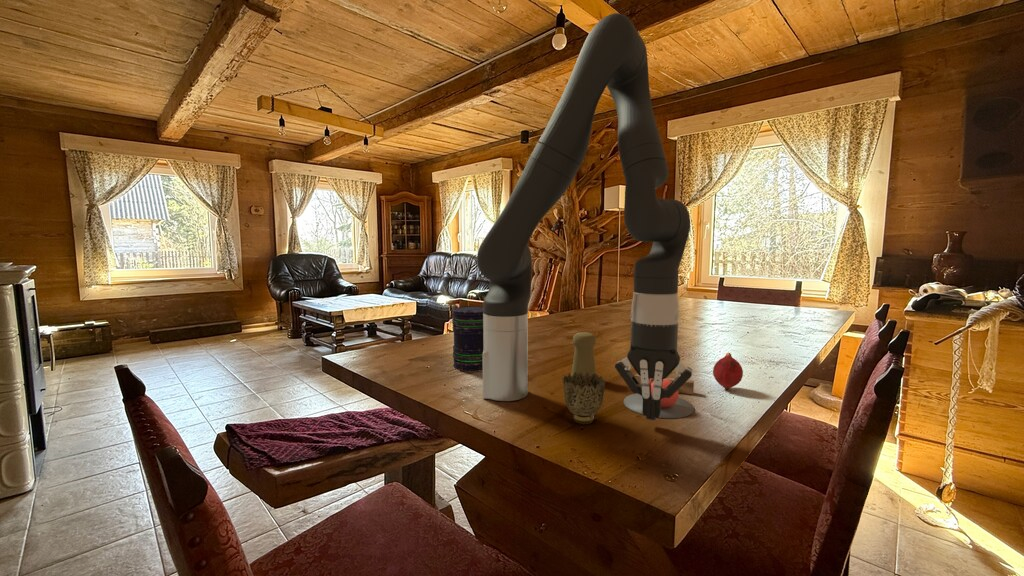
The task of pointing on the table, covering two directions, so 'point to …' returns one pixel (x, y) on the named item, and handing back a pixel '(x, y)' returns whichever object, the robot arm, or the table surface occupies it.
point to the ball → (666, 401)
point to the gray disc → (675, 411)
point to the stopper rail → (685, 388)
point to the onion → (727, 371)
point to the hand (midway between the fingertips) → (651, 418)
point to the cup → (583, 395)
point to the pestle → (583, 353)
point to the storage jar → (468, 338)
